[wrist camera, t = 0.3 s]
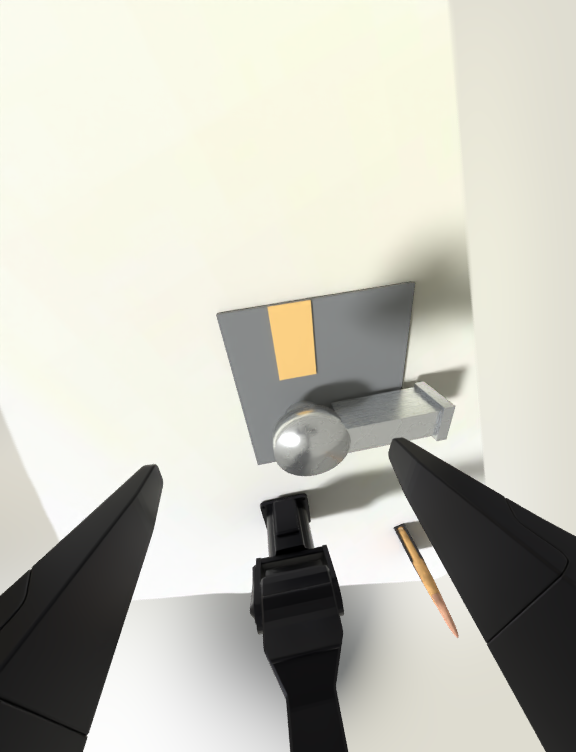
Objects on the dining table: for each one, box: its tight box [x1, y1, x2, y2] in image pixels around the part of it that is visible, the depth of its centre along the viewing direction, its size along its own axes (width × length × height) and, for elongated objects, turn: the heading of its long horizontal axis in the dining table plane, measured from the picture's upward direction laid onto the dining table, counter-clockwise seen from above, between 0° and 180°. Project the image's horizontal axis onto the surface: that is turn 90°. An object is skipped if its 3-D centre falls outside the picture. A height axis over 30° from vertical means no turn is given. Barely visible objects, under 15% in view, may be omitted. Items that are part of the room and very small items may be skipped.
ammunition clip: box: [394, 524, 458, 638], centre depth 38 cm, size 11×2×12 cm, turn 27°
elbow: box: [272, 381, 455, 476], centre depth 23 cm, size 16×7×4 cm, turn 97°
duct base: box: [216, 282, 415, 465], centre depth 23 cm, size 18×17×3 cm
